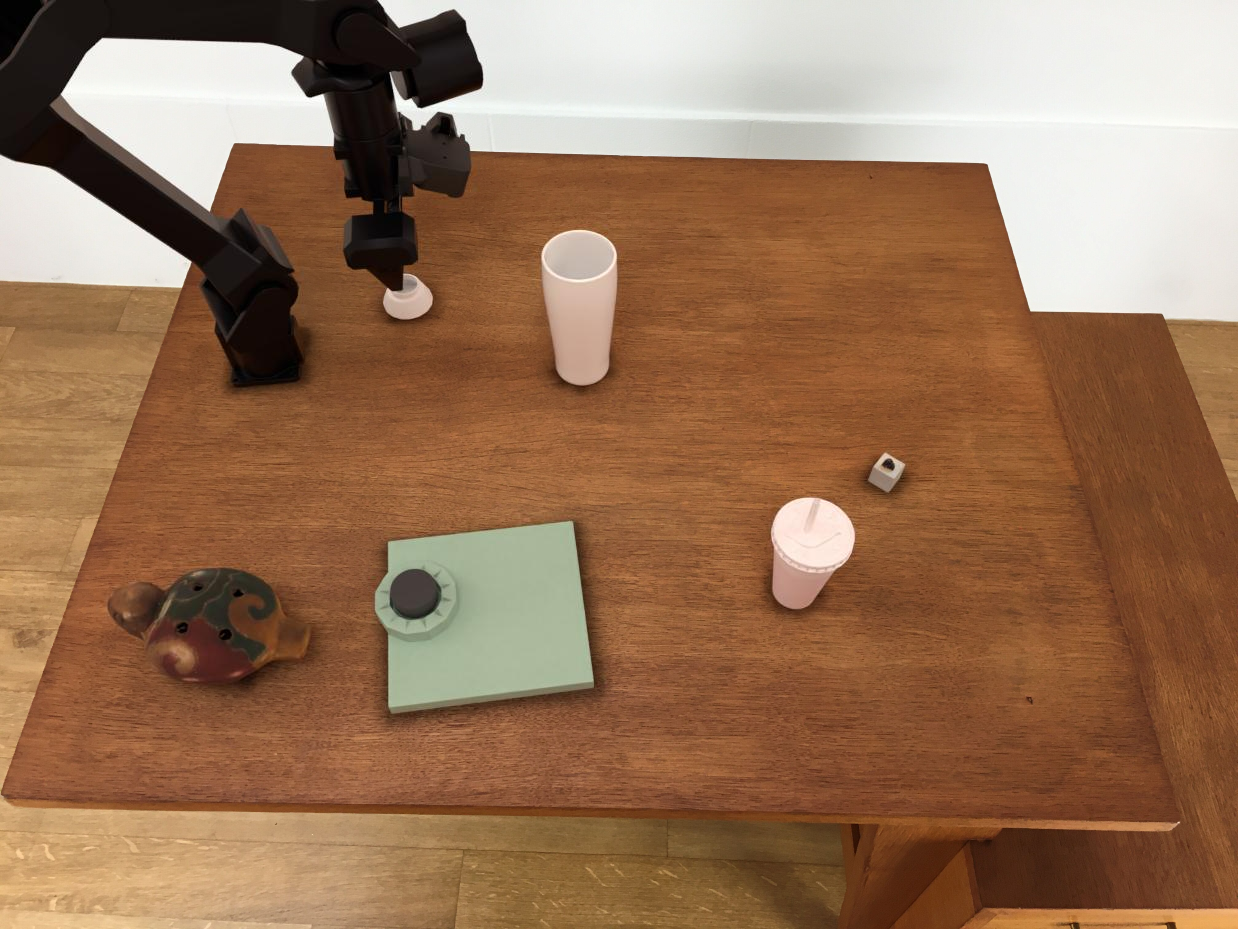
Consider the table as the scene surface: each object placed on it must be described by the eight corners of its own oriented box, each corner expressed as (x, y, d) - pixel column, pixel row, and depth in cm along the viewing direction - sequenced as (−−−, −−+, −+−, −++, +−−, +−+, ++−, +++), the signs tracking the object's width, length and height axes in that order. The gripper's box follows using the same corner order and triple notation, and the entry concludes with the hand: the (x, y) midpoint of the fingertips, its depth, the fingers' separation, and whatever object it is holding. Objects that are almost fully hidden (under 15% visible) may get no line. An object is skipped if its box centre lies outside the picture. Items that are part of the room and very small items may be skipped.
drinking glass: (608, 399, 94) (609, 287, 82) (541, 388, 95) (531, 275, 82) (622, 348, 98) (624, 234, 86) (557, 337, 99) (550, 223, 86)
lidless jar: (405, 329, 99) (442, 303, 101) (400, 309, 97) (438, 283, 99) (375, 305, 101) (412, 280, 103) (369, 284, 98) (407, 259, 101)
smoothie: (750, 559, 84) (774, 467, 72) (823, 554, 84) (857, 462, 73) (763, 626, 80) (789, 541, 69) (839, 621, 81) (878, 535, 69)
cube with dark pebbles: (867, 481, 89) (873, 465, 87) (879, 466, 90) (885, 450, 88) (888, 493, 88) (894, 477, 86) (899, 478, 89) (906, 462, 87)
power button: (393, 621, 77) (389, 611, 76) (393, 581, 79) (389, 571, 78) (439, 615, 78) (436, 605, 76) (437, 576, 80) (434, 566, 78)
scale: (381, 715, 76) (374, 701, 73) (382, 550, 84) (375, 532, 82) (594, 688, 77) (593, 673, 75) (573, 528, 86) (572, 510, 83)
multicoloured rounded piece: (150, 592, 81) (120, 540, 75) (332, 604, 82) (316, 553, 76) (110, 700, 75) (73, 653, 69) (306, 712, 76) (287, 666, 70)
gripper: (464, 183, 78) (484, 318, 91) (455, 52, 89) (473, 189, 102) (324, 194, 77) (364, 328, 90) (332, 60, 88) (366, 198, 101)
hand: (396, 257), depth 96 cm, fingers open, 9 cm apart
